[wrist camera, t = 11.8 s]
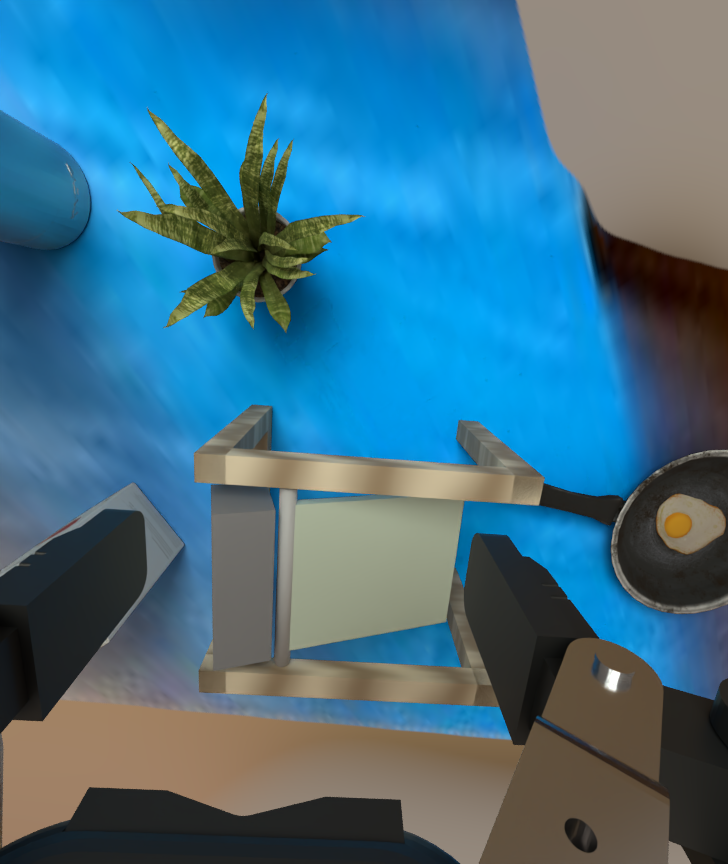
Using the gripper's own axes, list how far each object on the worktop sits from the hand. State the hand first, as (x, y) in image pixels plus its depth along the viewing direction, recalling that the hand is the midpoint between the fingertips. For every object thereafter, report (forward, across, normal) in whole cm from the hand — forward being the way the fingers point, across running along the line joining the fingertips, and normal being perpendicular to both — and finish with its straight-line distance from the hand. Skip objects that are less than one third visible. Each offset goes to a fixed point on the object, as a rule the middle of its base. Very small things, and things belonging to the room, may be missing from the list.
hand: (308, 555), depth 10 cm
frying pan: (+34, -32, +12) cm, 48 cm away
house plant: (+33, +6, -11) cm, 36 cm away
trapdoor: (+23, 0, +13) cm, 27 cm away
